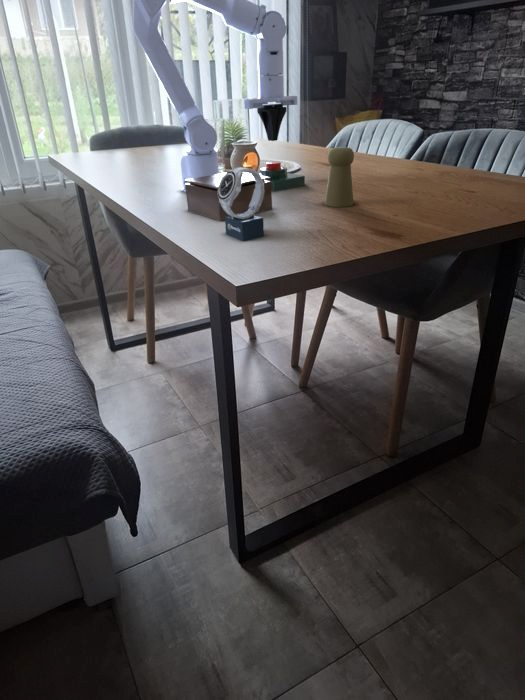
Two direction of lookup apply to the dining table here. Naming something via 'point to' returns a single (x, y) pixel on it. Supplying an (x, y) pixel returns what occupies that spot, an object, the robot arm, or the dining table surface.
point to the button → (273, 165)
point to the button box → (282, 178)
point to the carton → (207, 202)
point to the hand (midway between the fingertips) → (272, 140)
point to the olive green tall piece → (340, 177)
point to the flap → (245, 177)
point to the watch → (246, 222)
